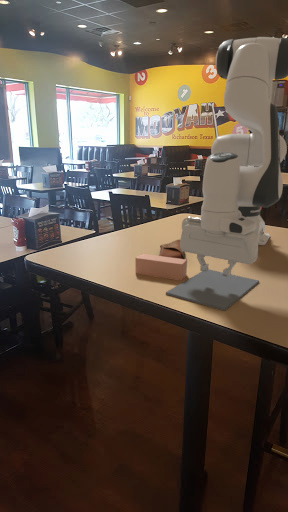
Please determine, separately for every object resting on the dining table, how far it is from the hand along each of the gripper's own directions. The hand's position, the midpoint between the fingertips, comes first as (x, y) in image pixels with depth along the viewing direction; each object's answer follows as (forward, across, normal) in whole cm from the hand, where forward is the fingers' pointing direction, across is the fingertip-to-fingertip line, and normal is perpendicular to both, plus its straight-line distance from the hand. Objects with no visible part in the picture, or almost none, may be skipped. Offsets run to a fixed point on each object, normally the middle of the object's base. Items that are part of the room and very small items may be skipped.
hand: (215, 273), depth 98 cm
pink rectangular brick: (+4, -17, 0) cm, 18 cm away
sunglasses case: (+5, -25, +15) cm, 30 cm away
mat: (+4, 0, 0) cm, 4 cm away
